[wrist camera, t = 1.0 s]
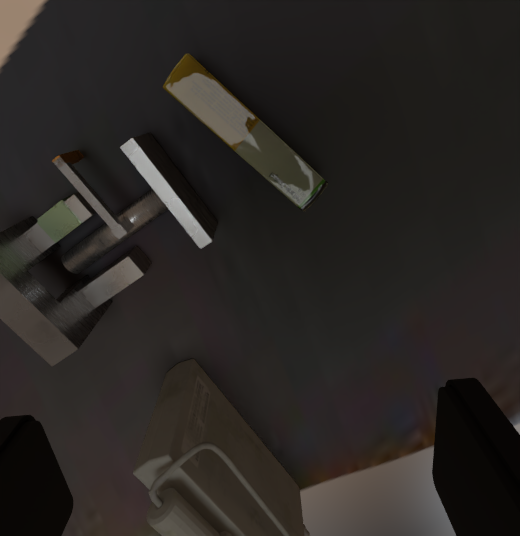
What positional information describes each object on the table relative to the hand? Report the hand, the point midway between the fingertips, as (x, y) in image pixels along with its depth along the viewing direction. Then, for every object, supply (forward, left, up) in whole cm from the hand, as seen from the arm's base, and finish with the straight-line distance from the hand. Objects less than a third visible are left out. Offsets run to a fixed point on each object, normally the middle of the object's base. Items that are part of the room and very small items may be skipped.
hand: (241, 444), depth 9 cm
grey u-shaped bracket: (+13, -5, -23) cm, 27 cm away
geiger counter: (+14, +20, -23) cm, 34 cm away
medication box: (-3, -5, -23) cm, 24 cm away
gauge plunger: (+8, -5, -23) cm, 25 cm away
